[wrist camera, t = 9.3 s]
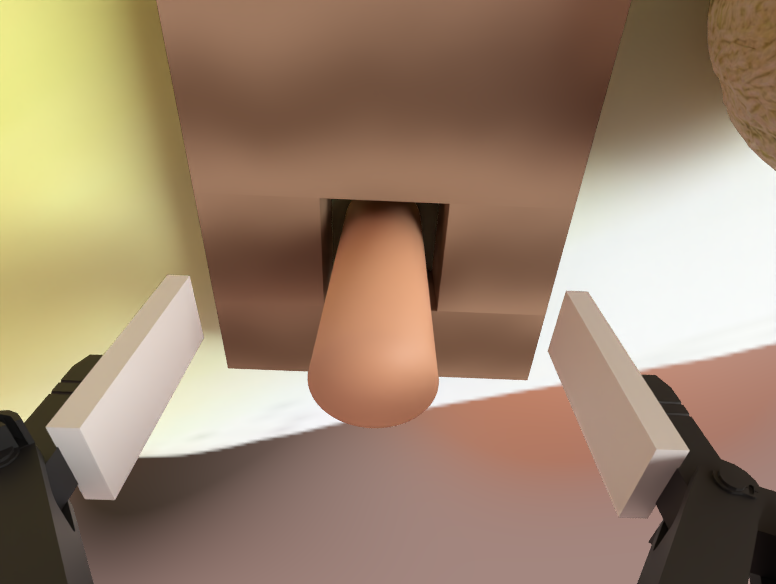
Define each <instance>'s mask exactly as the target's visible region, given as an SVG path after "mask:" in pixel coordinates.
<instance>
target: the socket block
mask: <svg viewBox="0 0 776 584" xmlns="http://www.w3.org/2000/svg"><path fill="white" fill-rule="evenodd" d="M156 2H157V7H158V12H159V17H160V22H161V27H162V32H163V38H164V43H165V48H166V53H167V58H168V63H169V68H170V73H171V78H172V84H173V89H174V94H175V99H176V104H177V109H178V114H179V119H180V125H181V130H182V135H183V140H184V145H185V150H186V155H187V160H188V165H189V171H190V176H191V181H192V186H193V191H194V196H195V201H196V206H197V212H198V217H199V222H200V227H201V232H202V237H203V242H204V247H205V252H206V258H207V263H208V268H209V273H210V278H211V283H212V288H213V293H214V299H215V304H216V309H217V314H218V319H219V324H220V329H221V334H222V339H223V345H224V350H225V355H226V360H227V365H228V368H235V369H260V370H285V371H309V366H310V362H311V358H312V354H313V349H314V345H315V341H316V337H317V333H318V328H319V324H320V320H321V316H322V312H323V307H324V303H325V299H326V295H327V291H328V286H329V282H330V278H331V274H332V270H333V233H332V199H353V200H376V201H399V202H422V203H439V207H438V216H437V226H436V235H435V245H434V254H433V264H432V270H427V279H428V288H429V297H430V306H431V315H432V324H433V333H434V342H435V351H436V360H437V369H438V377H461V378H486V379H511V380H528V376H529V372H530V369H531V365H532V361H533V358H534V354H535V350H536V347H537V343H538V339H539V336H540V332H541V329H542V325H543V321H544V318H545V314H546V310H547V307H548V303H549V299H550V296H551V292H552V288H553V285H554V281H555V277H556V274H557V270H558V267H559V263H560V259H561V256H562V252H563V248H564V245H565V241H566V237H567V234H568V230H569V226H570V223H571V219H572V215H573V212H574V208H575V205H576V201H577V197H578V194H579V190H580V186H581V183H582V179H583V175H584V172H585V168H586V164H587V161H588V157H589V153H590V150H591V146H592V143H593V139H594V135H595V132H596V128H597V124H598V121H599V117H600V113H601V110H602V106H603V102H604V99H605V95H606V92H607V88H608V84H609V81H610V77H611V73H612V70H613V66H614V62H615V59H616V55H617V51H618V48H619V44H620V40H621V37H622V33H623V30H624V26H625V22H626V19H627V15H628V11H629V8H630V4H631V0H156Z"/></svg>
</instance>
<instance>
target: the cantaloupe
mask: <svg viewBox="0 0 776 584" xmlns="http://www.w3.org/2000/svg"><path fill="white" fill-rule="evenodd" d="M707 26H708V50H709V56H710V60H711V63H712V67H713V71H714V73H715V74H716V75H717V76H718V77H719V80H720V84H721V89H722V93H723V103H724V104H725V105H726V107H727V111H728V114H729V117H730V120H731V122H732V123H733V125H734V126H735V128H736V129H737V131H738V132H739V134H740V135H741V136H742V137H743V139H744V140H745V142H746V143H747V145H748V146H749V147H750V148H751V149H752V150H753V151H754V152H755V153H756V154H757V155H758V156H759V157H760V158H761V159H762V160H763V161H764V162H766V163H767V164H768V165H769V166H771V167H772V168H773V169H774V170H775V171H776V0H710V5H709V12H708V18H707Z"/></svg>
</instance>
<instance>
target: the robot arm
mask: <svg viewBox="0 0 776 584" xmlns="http://www.w3.org/2000/svg"><path fill="white" fill-rule="evenodd" d="M203 339H204V335H203V331H202V327H201V322H200V318H199V314H198V309H197V305H196V301H195V297H194V292H193V288H192V284H191V279H190V276H186V275H167V276H166V277H165V278H164V280H163V281H162V282H161V283H160V285H159V286H158V287H157V288H156V290H155V291H154V292H153V293H152V295H151V296H150V297H149V298H148V300H147V301H146V302H145V303H144V305H143V306H142V307H141V308H140V310H139V311H138V312H137V313H136V315H135V316H134V317H133V318H132V320H131V321H130V322H129V323H128V325H127V326H126V327H125V328H124V330H123V331H122V332H121V333H120V335H119V336H118V337H117V338H116V340H115V341H114V342H113V343H112V345H111V346H110V347H109V348H108V350H107V351H106V352H105V353H104V355H89V356H87V357H86V358H84V359H83V360H81V361H80V362H78V363H77V364H75V365H74V366H73V367H72V368H71V369H70V370H69V371H68V372H67V374H66V375H65V376H64V377H63V378H62V379H61V383H58V384H57V385H56V386H55V388H54V389H53V390H52V393H51V394H49V395H48V396H47V397H46V398H45V399H44V400H43V402H42V403H41V404H40V405H39V406H38V407H37V409H36V410H35V411H34V412H33V413H32V414H31V416H30V417H29V418H28V419H27V420H26V421H25V423H23V421H22V419H21V418H20V416H19V415H18V413H16V412H12V411H9V410H4V411H0V584H94V583H93V580H92V576H91V572H90V568H89V565H88V561H87V558H86V554H85V550H84V547H83V543H82V539H81V536H80V532H79V528H78V525H77V521H76V517H75V514H74V510H73V506H72V505H71V503H70V501H69V498H70V496H71V495H72V493H73V492H74V490H75V488H76V487H77V485H78V487H79V489H80V491H81V493H82V494H83V496H84V498H85V499H104V500H115V498H116V497H117V495H118V493H119V491H120V489H121V488H122V486H123V484H124V482H125V480H126V478H127V477H128V475H129V473H130V471H131V470H132V468H133V466H134V464H135V462H136V460H137V459H138V457H139V455H140V453H141V451H142V450H143V448H144V446H145V444H146V442H147V440H148V439H149V437H150V435H151V433H152V431H153V430H154V428H155V426H156V424H157V422H158V420H159V419H160V417H161V415H162V413H163V411H164V410H165V408H166V406H167V404H168V402H169V400H170V399H171V397H172V395H173V393H174V391H175V390H176V388H177V386H178V384H179V382H180V380H181V379H182V377H183V375H184V373H185V371H186V370H187V368H188V366H189V364H190V362H191V360H192V359H193V357H194V355H195V353H196V351H197V350H198V348H199V346H200V344H201V342H202V340H203ZM548 352H549V355H550V357H551V359H552V362H553V364H554V367H555V369H556V371H557V374H558V376H559V378H560V381H561V383H562V385H563V388H564V390H565V392H566V395H567V397H568V400H569V402H570V404H571V407H572V409H573V411H574V413H575V416H576V418H577V421H578V423H579V425H580V428H581V430H582V432H583V435H584V437H585V439H586V442H587V444H588V447H589V449H590V451H591V454H592V456H593V458H594V461H595V463H596V465H597V467H598V470H599V472H600V475H601V477H602V479H603V482H604V484H605V487H606V489H607V491H608V494H609V496H610V498H611V501H612V503H613V505H614V508H615V510H616V512H617V515H618V517H622V518H648V517H649V515H650V514H651V512H652V510H653V509H654V507H655V506H656V505H657V507H658V509H659V511H660V513H661V515H662V517H663V521H662V522H661V524H660V526H659V527H658V529H657V530H656V531H655V533H654V534H653V536H652V537H651V539H650V540H649V543H651V544H652V546H651V549H650V551H649V554H648V557H647V559H646V562H645V565H644V567H643V570H642V572H641V575H640V578H639V580H638V583H637V584H748V579H749V578H750V584H776V492H775V491H772V490H768V489H765V488H762V487H759V485H758V484H757V482H756V481H755V480H754V479H753V478H752V477H751V476H750V475H749V474H748V473H747V472H745V471H744V470H742V469H741V468H739V467H738V466H736V465H734V464H732V463H729V462H727V461H724V460H721V459H720V457H719V456H718V454H717V453H716V451H715V450H714V449H713V447H712V446H711V445H710V443H709V441H708V440H707V439H706V437H705V436H704V435H703V433H702V431H701V430H700V428H699V427H698V426H697V424H696V423H695V421H694V420H693V419H692V417H690V416H689V413H688V411H687V410H686V408H685V407H684V405H681V401H680V400H679V398H678V397H677V395H676V394H675V393H674V391H673V390H672V388H671V387H669V386H668V385H667V384H666V383H665V382H663V381H662V380H661V379H660V378H658V377H657V376H656V375H641V374H640V372H639V371H638V369H637V367H636V366H635V364H634V363H633V361H632V360H631V358H630V357H629V355H628V353H627V352H626V350H625V349H624V347H623V346H622V344H621V343H620V341H619V339H618V338H617V336H616V335H615V333H614V332H613V330H612V329H611V327H610V325H609V324H608V322H607V321H606V319H605V318H604V316H603V314H602V313H601V311H600V310H599V308H598V307H597V305H596V304H595V302H594V300H593V299H592V297H591V296H590V294H589V293H588V292H584V291H566V293H565V296H564V299H563V303H562V306H561V309H560V313H559V316H558V319H557V323H556V326H555V329H554V332H553V336H552V339H551V342H550V346H549V349H548Z"/></svg>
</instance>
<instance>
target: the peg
mask: <svg viewBox="0 0 776 584" xmlns="http://www.w3.org/2000/svg"><path fill="white" fill-rule="evenodd" d="M438 385H439V378H438V369H437V360H436V351H435V342H434V333H433V324H432V315H431V306H430V297H429V288H428V279H427V270H426V261H425V252H424V243H423V234H422V225H421V216H420V212H419V209H418V207H417V205H416V203H415V202H399V201H376V200H352V201H351V203H350V204H349V206H348V208H347V211H346V215H345V219H344V223H343V228H342V232H341V236H340V240H339V244H338V249H337V253H336V257H335V261H334V265H333V270H332V274H331V278H330V282H329V286H328V291H327V295H326V299H325V303H324V307H323V312H322V316H321V320H320V324H319V328H318V333H317V337H316V341H315V345H314V349H313V354H312V358H311V362H310V366H309V371H308V386H309V389H310V392H311V394H312V396H313V398H314V400H315V401H316V403H317V404H318V405H319V406H320V407H321V408H322V409H323V410H324V411H325V412H326V413H328V414H329V415H331V416H332V417H334V418H336V419H338V420H340V421H342V422H344V423H347V424H350V425H354V426H358V427H365V428H386V427H391V426H397V425H399V424H403V423H406V422H408V421H410V420H412V419H414V418H416V417H417V416H419V415H420V414H422V413H423V412H424V411H425V410H426V409H427V408H428V407H429V406H430V405H431V403H432V402H433V400H434V398H435V396H436V394H437V390H438Z"/></svg>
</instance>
